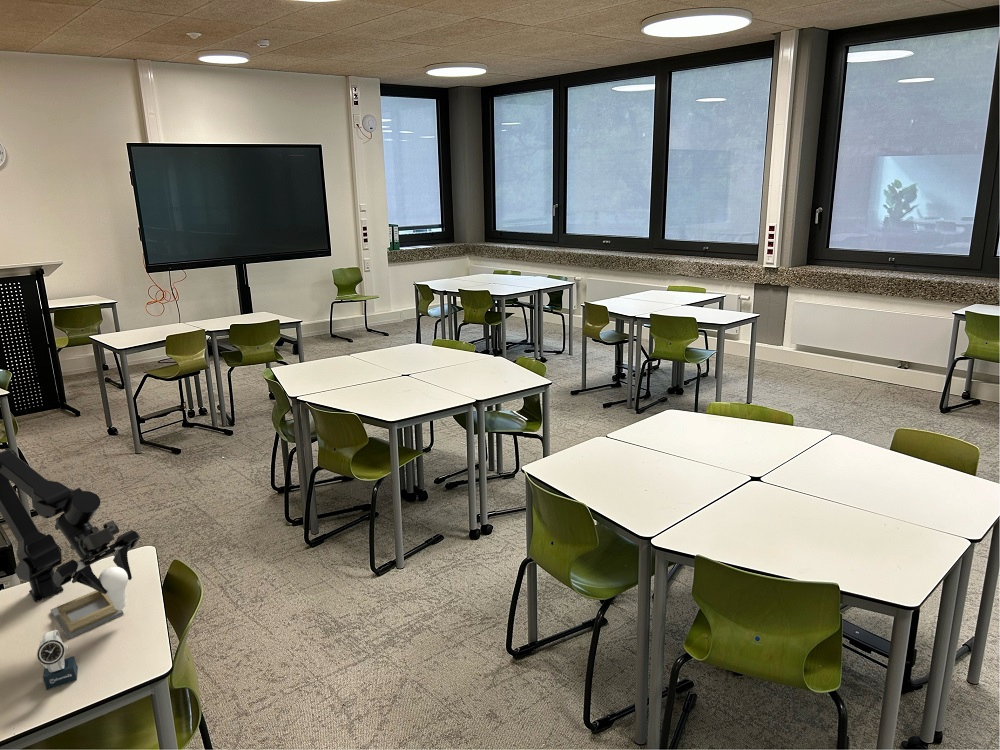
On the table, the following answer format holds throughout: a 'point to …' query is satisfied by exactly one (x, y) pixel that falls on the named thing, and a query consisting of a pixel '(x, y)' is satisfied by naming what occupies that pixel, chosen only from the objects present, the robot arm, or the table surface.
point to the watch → (56, 661)
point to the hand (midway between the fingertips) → (118, 586)
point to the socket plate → (85, 613)
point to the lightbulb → (115, 585)
